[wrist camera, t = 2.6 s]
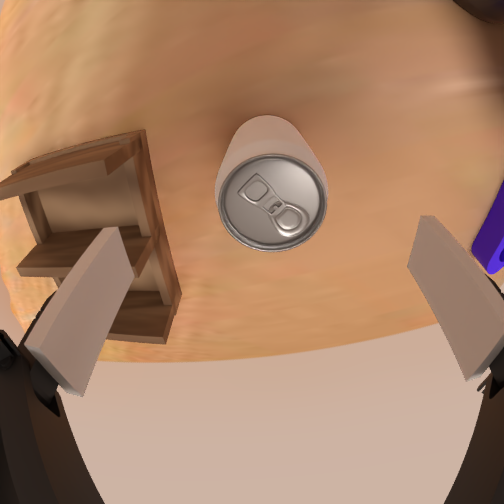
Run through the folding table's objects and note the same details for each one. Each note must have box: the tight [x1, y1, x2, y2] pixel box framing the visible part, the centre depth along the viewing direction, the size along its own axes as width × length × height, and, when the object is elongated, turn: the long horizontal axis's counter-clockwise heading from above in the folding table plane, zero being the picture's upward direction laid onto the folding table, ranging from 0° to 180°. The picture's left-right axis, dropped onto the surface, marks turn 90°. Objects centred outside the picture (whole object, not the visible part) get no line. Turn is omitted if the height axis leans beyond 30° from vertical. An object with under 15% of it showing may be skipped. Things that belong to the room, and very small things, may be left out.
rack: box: [0, 130, 182, 344], centre depth 26 cm, size 20×16×8 cm
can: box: [215, 115, 328, 252], centre depth 19 cm, size 6×6×12 cm
